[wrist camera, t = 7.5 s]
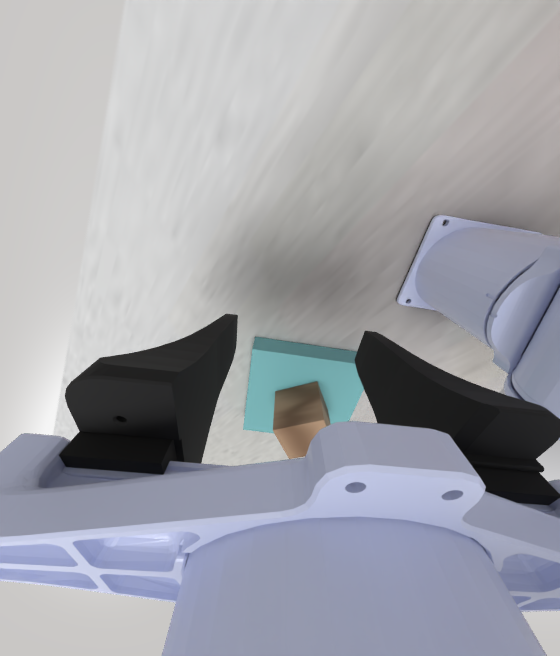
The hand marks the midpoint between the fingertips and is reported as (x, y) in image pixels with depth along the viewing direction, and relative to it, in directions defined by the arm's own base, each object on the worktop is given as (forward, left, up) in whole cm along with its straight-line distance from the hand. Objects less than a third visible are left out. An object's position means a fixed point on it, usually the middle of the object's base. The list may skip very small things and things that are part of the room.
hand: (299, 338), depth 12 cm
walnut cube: (-3, +13, -8) cm, 16 cm away
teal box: (-3, +13, -11) cm, 18 cm away
